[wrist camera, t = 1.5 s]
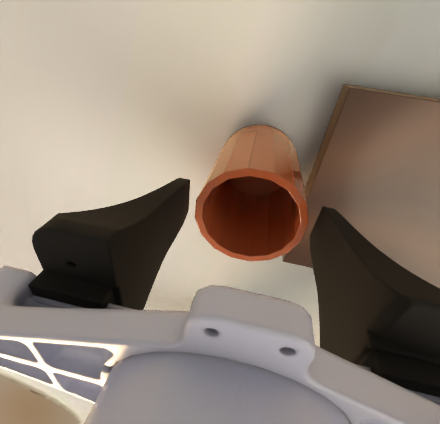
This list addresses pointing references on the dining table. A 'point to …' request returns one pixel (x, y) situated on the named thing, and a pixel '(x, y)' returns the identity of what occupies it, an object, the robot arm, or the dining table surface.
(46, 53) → the dining table surface
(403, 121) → the serving board
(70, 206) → the dining table surface
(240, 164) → the tumbler
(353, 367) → the robot arm
